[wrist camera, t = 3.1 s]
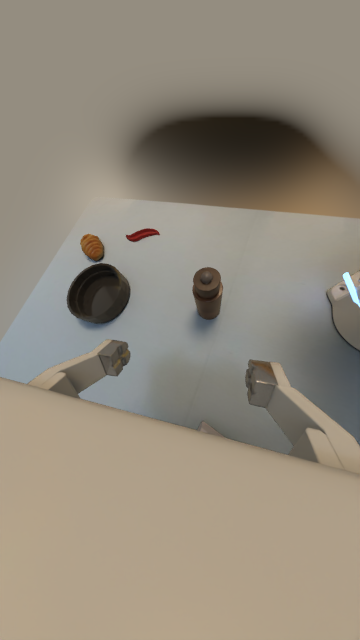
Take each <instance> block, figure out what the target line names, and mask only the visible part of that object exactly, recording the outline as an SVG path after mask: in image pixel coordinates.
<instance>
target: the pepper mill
mask: <svg viewBox="0 0 360 640" xmlns="http://www.w3.org/2000/svg"><path fill="white" fill-rule="evenodd" d="M193 282H194V285H193V295H194V299H195V302H196V306H197V310H198V313H199V315H200V316H201V317H202V318H204V319H213V318H215V317H217V316H218V314H219V312H220V306H221V299H222V291H223V286H222V283H221V276H220V274H219V272H218V271H217V270H216V269H214V268H209V267H207V268H202V269H200V270H199V271H197V272H196V274H195V275H194V278H193Z"/></svg>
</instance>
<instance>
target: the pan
mask: <svg viewBox="0 0 360 640" xmlns="http://www.w3.org/2000/svg"><path fill="white" fill-rule="evenodd" d="M129 289H130V287H129V284H128V281H127V279H126V278H125V277H124V276H123V275H122V274H121V273H120V272H119V271H118V270H117V269H116V268H115V267H114V266H112V265H109V264H103V263H100V264H96V265H92V266H90V267H88V268H86V269H85V270H83V271H82V272H81V273H80V274H79V275H78V276H77V277H76V278H75V279H74V281H73V282H72V284H71V286H70V288H69V290H68V295H67V305H68V308H69V310H70V312H71V313H72V314H73V315H74V316H76V317H77V318H79V319H82V320H85V321H88V322H91V323H96V324H98V323H104V322H107V321H109V320H111V319H113V318H115V317H116V316H117V315H118V314H119V313H120V312H121V311H122V310H123V308H124V307H125V305H126V304H127V301H128V298H129Z"/></svg>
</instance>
